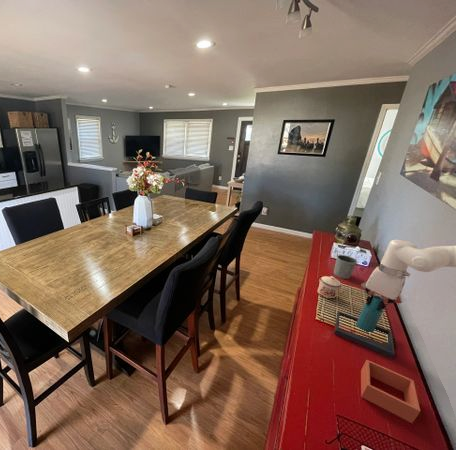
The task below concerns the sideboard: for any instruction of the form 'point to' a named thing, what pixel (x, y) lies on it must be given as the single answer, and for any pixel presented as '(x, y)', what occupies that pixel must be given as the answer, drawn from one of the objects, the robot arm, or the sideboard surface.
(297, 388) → the sideboard surface
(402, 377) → the bin
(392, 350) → the dark gray rectangular frame
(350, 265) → the grey cup
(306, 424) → the sideboard surface
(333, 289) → the teacup with lid
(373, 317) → the bottle
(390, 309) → the sideboard surface
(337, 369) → the sideboard surface
